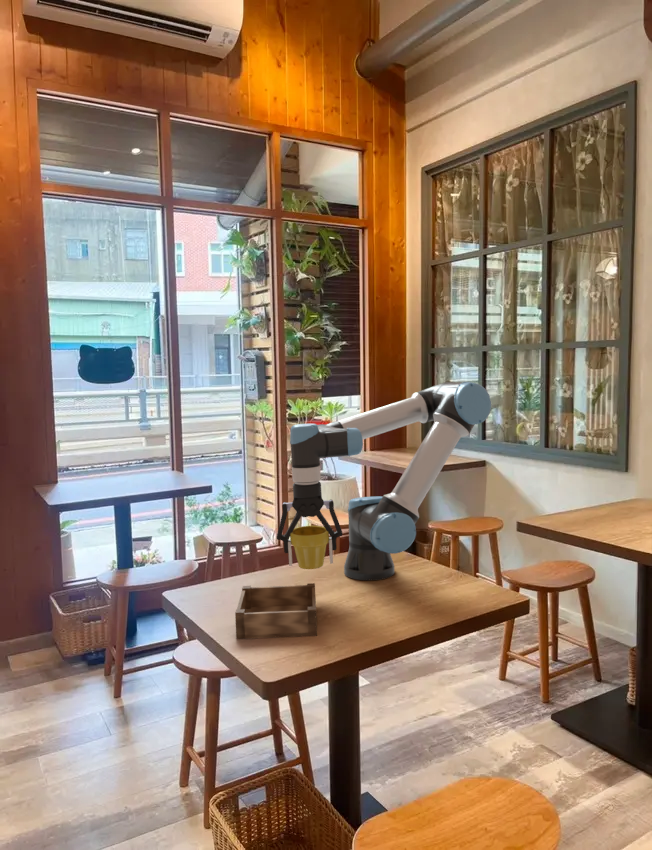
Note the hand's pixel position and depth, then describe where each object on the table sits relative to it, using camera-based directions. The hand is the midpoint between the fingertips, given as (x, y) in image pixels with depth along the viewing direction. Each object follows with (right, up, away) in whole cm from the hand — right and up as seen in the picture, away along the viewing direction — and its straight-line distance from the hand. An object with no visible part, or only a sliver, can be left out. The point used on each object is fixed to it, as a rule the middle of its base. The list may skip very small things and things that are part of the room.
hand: (311, 563), depth 174 cm
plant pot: (0, -1, 0) cm, 1 cm away
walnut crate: (-8, -11, -16) cm, 21 cm away
